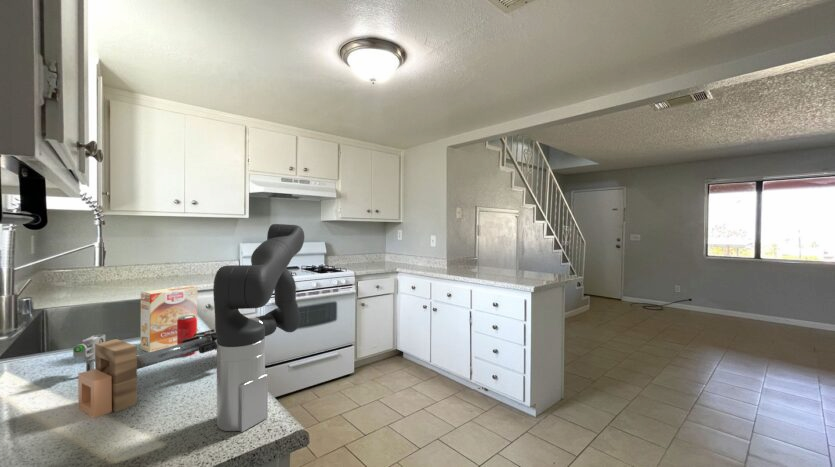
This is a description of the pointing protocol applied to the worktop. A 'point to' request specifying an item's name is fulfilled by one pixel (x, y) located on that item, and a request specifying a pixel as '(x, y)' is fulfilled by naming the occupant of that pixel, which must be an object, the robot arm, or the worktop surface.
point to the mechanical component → (88, 350)
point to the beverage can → (186, 329)
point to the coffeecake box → (164, 315)
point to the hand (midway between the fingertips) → (190, 347)
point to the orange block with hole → (95, 393)
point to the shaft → (171, 352)
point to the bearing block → (119, 370)
